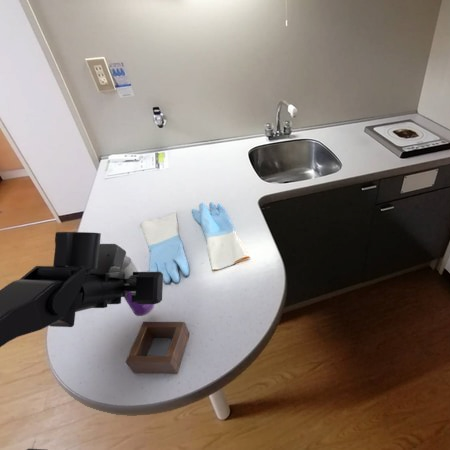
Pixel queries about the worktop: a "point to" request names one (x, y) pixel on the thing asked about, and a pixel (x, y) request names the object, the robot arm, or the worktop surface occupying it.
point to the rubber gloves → (173, 247)
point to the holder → (144, 340)
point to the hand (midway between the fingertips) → (136, 283)
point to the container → (136, 308)
